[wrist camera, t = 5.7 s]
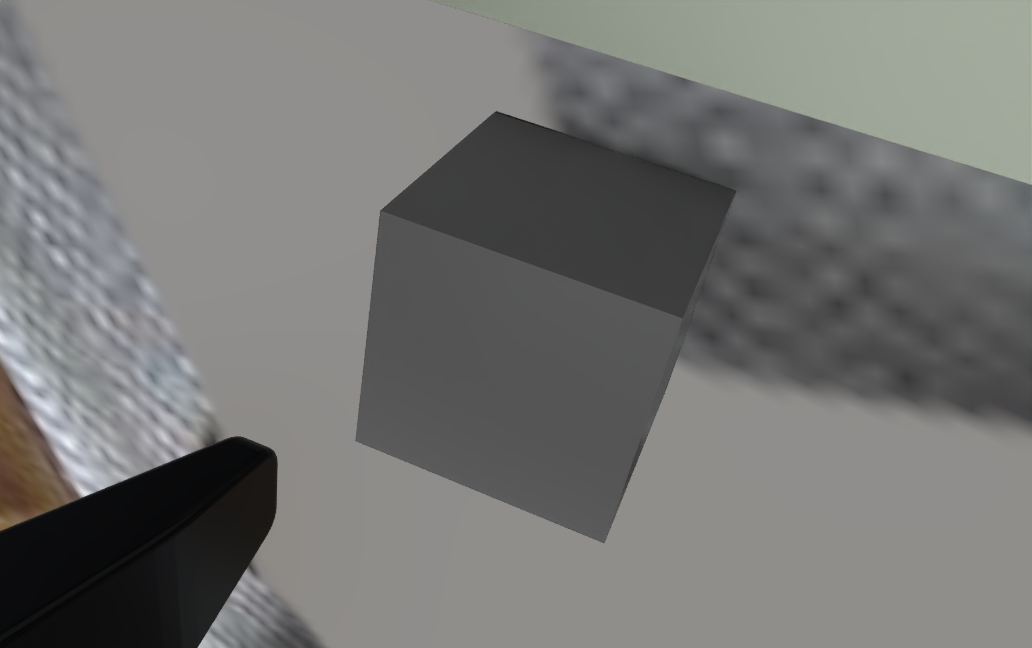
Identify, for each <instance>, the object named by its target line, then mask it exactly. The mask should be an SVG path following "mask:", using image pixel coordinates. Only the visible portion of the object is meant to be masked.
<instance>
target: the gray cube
mask: <svg viewBox="0 0 1032 648" xmlns="http://www.w3.org/2000/svg"><path fill="white" fill-rule="evenodd" d="M735 194H736V191H735V190H732V189H728V188H725V187H722V186H719V185H716V184H713V183H710V182H707V181H704V180H701V179H698V178H695V177H692V176H689V175H686V174H683V173H679V172H676V171H673V170H670V169H667V168H664V167H661V166H658V165H655V164H652V163H649V162H646V161H643V160H640V159H637V158H634V157H630V156H627V155H624V154H621V153H618V152H615V151H612V150H609V149H606V148H603V147H600V146H597V145H594V144H591V143H588V142H585V141H581V140H578V139H575V138H572V137H569V136H566V135H563V134H560V133H557V132H555V130H553V129H550V128H547V127H544V126H541V125H538V124H535V123H532V122H529V121H526V120H522V119H519V118H516V117H513V116H510V115H507V114H504V113H501V112H498V111H496V112H495V113H494V114H492V115H491V116H490V117H489V118H487V119H486V120H485V121H484V122H483V123H482V124H480V125H479V126H478V127H477V128H476V129H475V130H473V131H472V132H471V133H470V134H469V135H468V136H467V137H465V138H464V139H463V140H462V141H461V142H460V143H458V144H457V145H456V146H455V147H454V148H453V149H452V150H450V151H449V152H448V153H447V154H446V155H444V156H443V157H442V158H441V159H440V160H439V161H437V162H436V163H435V164H434V165H433V166H432V167H431V168H430V169H428V170H427V171H426V172H425V173H424V174H423V175H421V176H420V177H419V178H418V179H417V180H415V181H414V182H413V183H412V184H411V185H410V186H408V187H407V188H406V189H405V190H404V191H403V192H402V193H400V194H399V195H398V196H397V197H396V198H395V199H393V200H392V201H391V202H390V203H389V204H388V205H387V206H385V207H384V208H383V209H382V210H381V211H380V219H379V228H378V238H377V247H376V256H375V265H374V275H373V284H372V293H371V303H370V311H369V321H368V331H367V339H366V349H365V358H364V367H363V376H362V386H361V395H360V404H359V413H358V423H357V431H356V441H357V442H359V443H362V444H364V445H367V446H369V447H371V448H374V449H376V450H379V451H381V452H384V453H386V454H388V455H391V456H393V457H396V458H398V459H401V460H403V461H405V462H408V463H410V464H413V465H415V466H418V467H420V468H422V469H425V470H427V471H430V472H432V473H435V474H437V475H440V476H442V477H444V478H447V479H449V480H452V481H454V482H457V483H459V484H462V485H464V486H466V487H469V488H471V489H474V490H476V491H478V492H481V493H483V494H486V495H488V496H491V497H493V498H495V499H498V500H500V501H503V502H505V503H508V504H510V505H512V506H515V507H517V508H520V509H522V510H525V511H527V512H530V513H532V514H535V515H537V516H539V517H542V518H544V519H546V520H549V521H551V522H554V523H556V524H559V525H561V526H563V527H566V528H568V529H571V530H573V531H576V532H578V533H580V534H583V535H586V536H588V537H590V538H593V539H595V540H598V541H600V542H602V543H604V542H605V540H606V538H607V535H608V533H609V530H610V528H611V525H612V523H613V520H614V518H615V516H616V513H617V510H618V508H619V506H620V503H621V500H622V498H623V495H624V493H625V491H626V488H627V486H628V483H629V481H630V478H631V475H632V473H633V471H634V468H635V466H636V463H637V461H638V458H639V456H640V453H641V451H642V448H643V446H644V443H645V441H646V438H647V436H648V433H649V431H650V428H651V426H652V423H653V421H654V418H655V416H656V413H657V411H658V408H659V406H660V403H661V401H662V399H663V396H664V394H665V391H666V388H667V386H668V383H669V380H670V377H671V374H672V372H673V369H674V366H675V363H676V360H677V357H678V354H679V352H680V349H681V346H682V343H683V340H684V337H685V335H686V332H687V329H688V326H689V323H690V321H691V318H692V315H693V312H694V309H695V306H696V304H697V301H698V298H699V295H700V292H701V290H702V287H703V284H704V281H705V278H706V275H707V273H708V270H709V267H710V264H711V261H712V259H713V256H714V253H715V250H716V247H717V244H718V242H719V239H720V236H721V233H722V230H723V228H724V225H725V222H726V219H727V216H728V213H729V211H730V208H731V205H732V202H733V199H734V197H735Z"/></svg>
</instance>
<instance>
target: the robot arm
mask: <svg viewBox="0 0 1032 648" xmlns="http://www.w3.org/2000/svg"><path fill="white" fill-rule="evenodd" d="M277 467H278V464H277V456H276V454H275V452H274V451H273V450H272V449H270V448H268V447H266V446H264V445H261V444H259V443H256V442H254V441H252V440H249V439H247V438H244V437H237V436H236V437H230V438H227V439H224V440H222V441H220V442H217V443H215V444H212V445H210V446H207V447H205V448H202V449H200V450H198V451H195V452H193V453H190V454H188V455H185V456H183V457H180V458H178V459H176V460H173V461H171V462H168V463H166V464H163V465H161V466H158V467H156V468H153V469H151V470H149V471H146V472H144V473H141V474H139V475H136V476H134V477H131V478H129V479H127V480H124V481H122V482H119V483H117V484H114V485H112V486H109V487H107V488H105V489H102V490H100V491H97V492H95V493H92V494H90V495H87V496H85V497H82V498H80V499H78V500H75V501H73V502H70V503H68V504H65V505H63V506H60V507H58V508H56V509H53V510H51V511H48V512H46V513H43V514H41V515H38V516H36V517H34V518H31V519H29V520H26V521H24V522H21V523H19V524H16V525H14V526H11V527H9V528H7V529H4V530H2V531H0V648H198V646H199V644H200V643H201V641H202V640H203V638H204V636H205V635H206V633H207V631H208V630H209V628H210V627H211V625H212V623H213V622H214V620H215V619H216V617H217V615H218V614H219V612H220V610H221V609H222V607H223V606H224V604H225V602H226V601H227V599H228V598H229V596H230V594H231V593H232V591H233V590H234V588H235V586H236V585H237V583H238V581H239V580H240V578H241V577H242V575H243V573H244V572H245V570H246V569H247V567H248V565H249V564H250V562H251V560H252V559H253V557H254V556H255V554H256V552H257V551H258V549H259V547H260V546H261V544H262V543H263V541H264V540H265V538H266V536H267V535H268V533H269V530H270V529H271V527H272V524H273V521H274V518H275V514H276V506H277Z"/></svg>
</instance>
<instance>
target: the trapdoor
mask: <svg viewBox="0 0 1032 648" xmlns="http://www.w3.org/2000/svg"><path fill="white" fill-rule="evenodd" d="M431 1H434V2H437V3H441V4H444V5H447V6H450V7H454V8H457V9H460V10H463V11H467V12H470V13H473V14H476V15H480V16H483V17H486V18H489V19H493V20H496V21H499V22H502V23H506V24H509V25H512V26H515V27H519V28H522V29H525V30H529V31H532V32H535V33H538V34H542V35H545V36H548V37H551V38H555V39H558V40H561V41H564V42H568V43H571V44H574V45H577V46H581V47H584V48H587V49H590V50H594V51H597V52H600V53H604V54H607V55H610V56H613V57H617V58H620V59H623V60H626V61H630V62H633V63H636V64H639V65H643V66H646V67H649V68H652V69H656V70H659V71H662V72H665V73H669V74H672V75H675V76H679V77H682V78H685V79H688V80H692V81H695V82H698V83H701V84H705V85H708V86H711V87H714V88H718V89H721V90H724V91H727V92H731V93H734V94H737V95H741V96H744V97H747V98H750V99H754V100H757V101H760V102H763V103H767V104H770V105H773V106H776V107H780V108H783V109H786V110H789V111H793V112H796V113H799V114H802V115H806V116H809V117H812V118H816V119H819V120H822V121H825V122H829V123H832V124H835V125H838V126H842V127H845V128H848V129H851V130H855V131H858V132H861V133H864V134H868V135H871V136H874V137H877V138H881V139H884V140H887V141H891V142H894V143H897V144H900V145H904V146H907V147H910V148H913V149H917V150H920V151H923V152H926V153H930V154H933V155H936V156H939V157H943V158H946V159H949V160H953V161H956V162H959V163H962V164H966V165H969V166H972V167H975V168H979V169H982V170H985V171H988V172H992V173H995V174H998V175H1001V176H1005V177H1008V178H1011V179H1014V180H1018V181H1021V182H1024V183H1028V184H1031V185H1032V0H431Z"/></svg>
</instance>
